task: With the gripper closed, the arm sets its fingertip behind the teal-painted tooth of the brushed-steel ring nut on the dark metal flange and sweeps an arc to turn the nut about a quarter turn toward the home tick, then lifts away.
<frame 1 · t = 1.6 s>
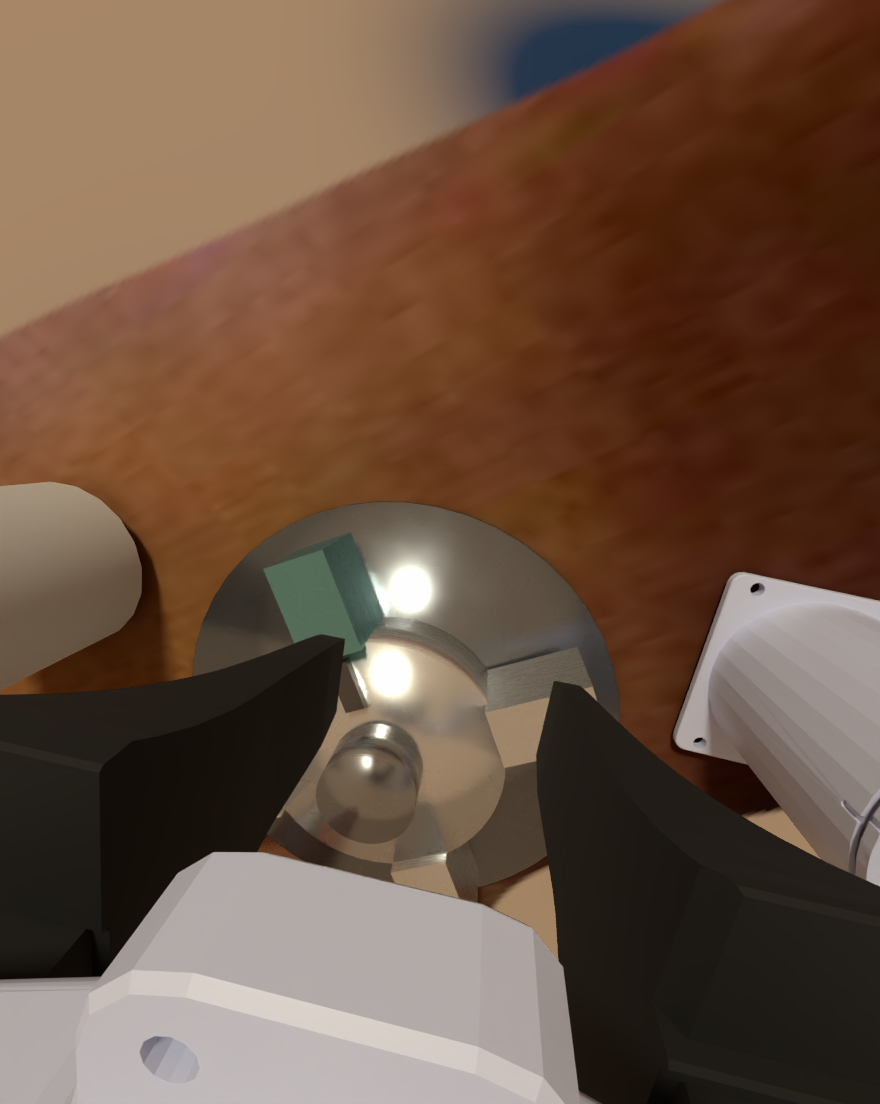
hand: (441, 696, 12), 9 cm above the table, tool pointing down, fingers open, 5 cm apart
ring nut: (386, 741, 20), point 2 cm above the table, hinge at 0.0°
can: (85, 559, 23), on the table
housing: (396, 714, 23), on the table
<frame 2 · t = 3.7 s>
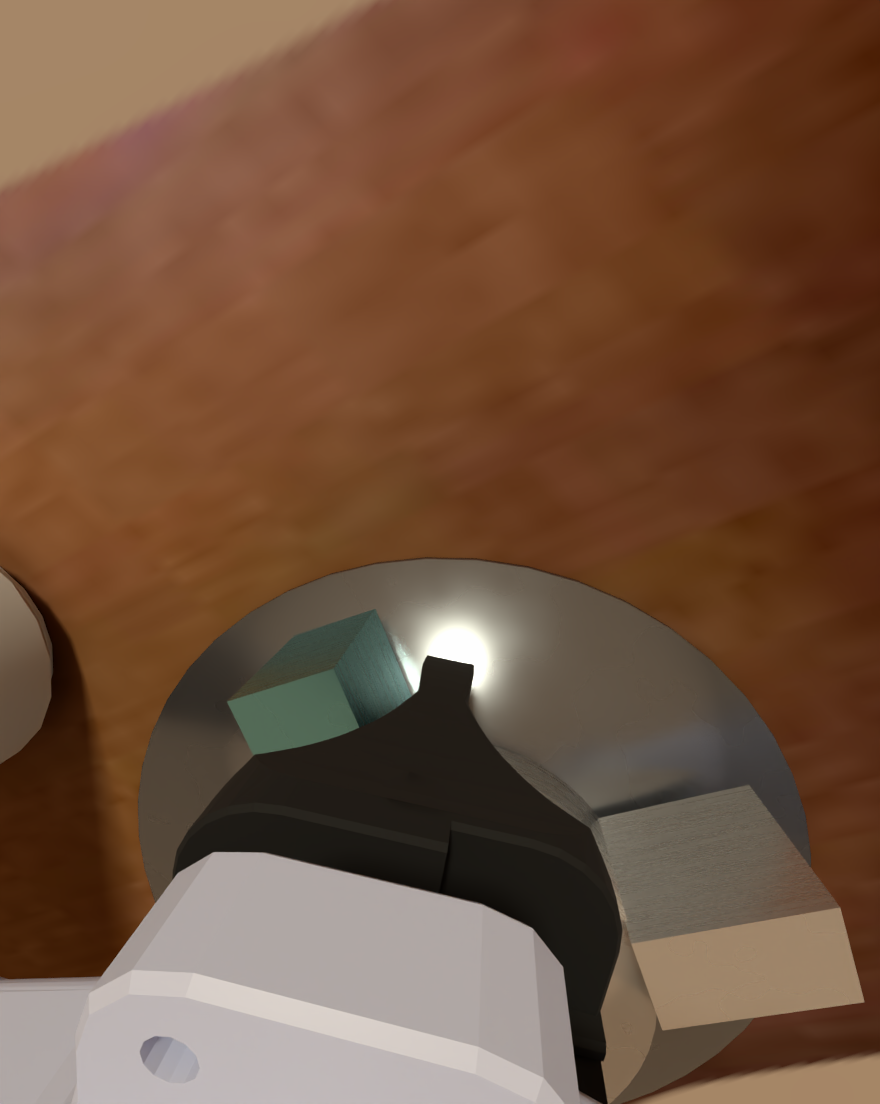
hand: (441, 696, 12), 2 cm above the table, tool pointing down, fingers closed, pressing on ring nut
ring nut: (443, 945, 13), point 2 cm above the table, hinge at 1.7°, touching gripper
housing: (450, 875, 15), on the table
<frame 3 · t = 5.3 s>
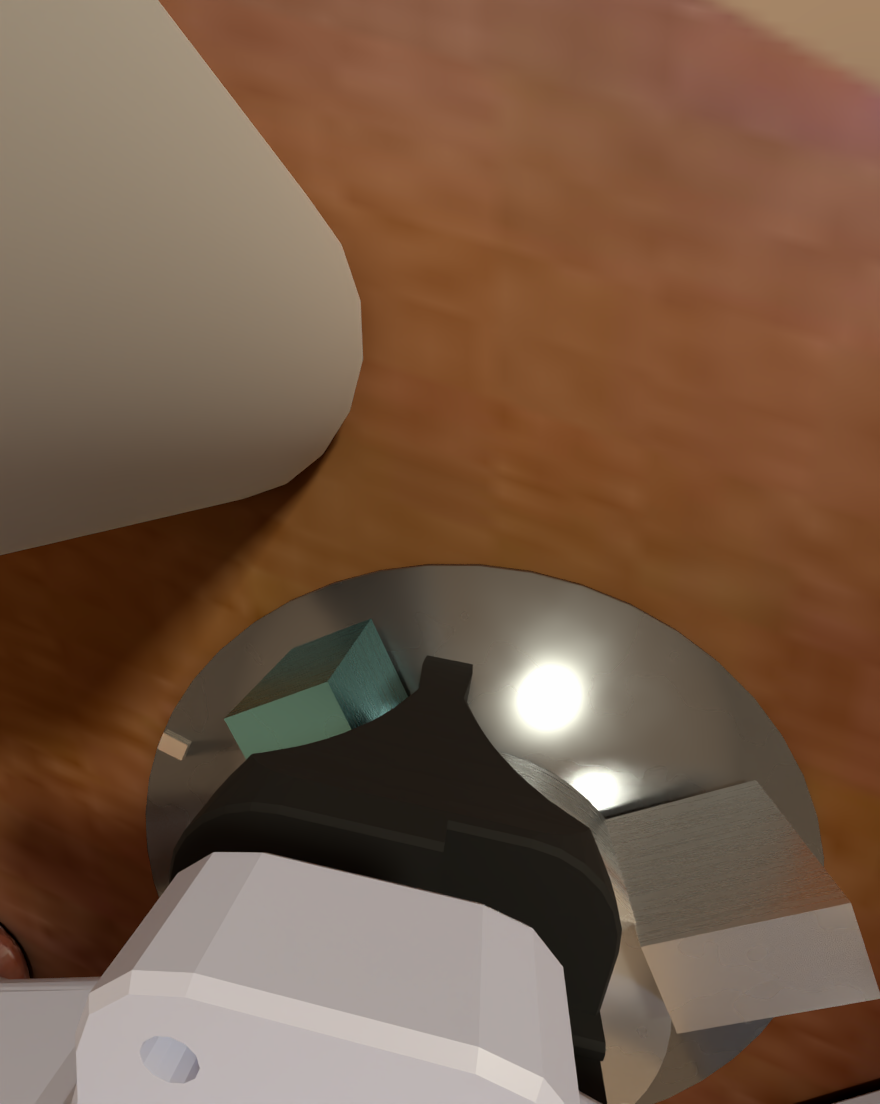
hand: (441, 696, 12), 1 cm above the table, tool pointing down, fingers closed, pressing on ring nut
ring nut: (454, 954, 13), point 2 cm above the table, hinge at 48.2°, touching gripper
can: (228, 345, 12), on the table
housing: (459, 882, 15), on the table
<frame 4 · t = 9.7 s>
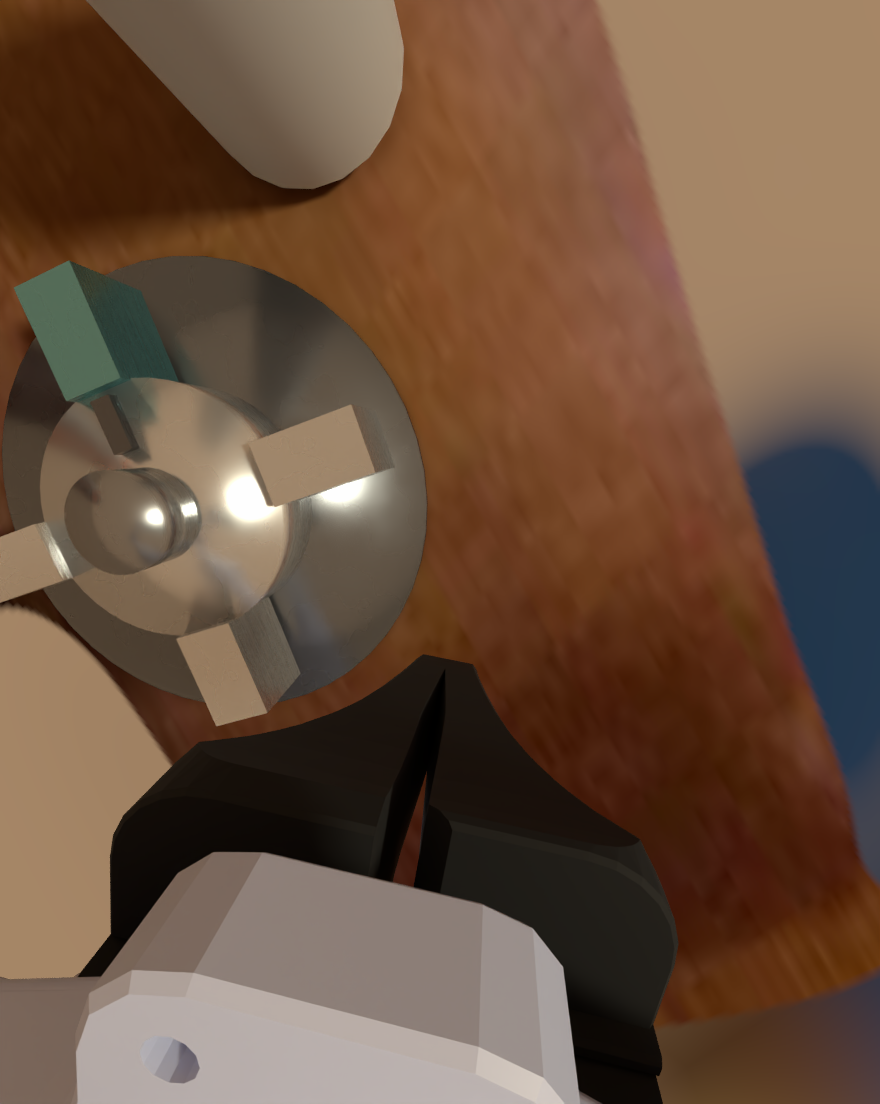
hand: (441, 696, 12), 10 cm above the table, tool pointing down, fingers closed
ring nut: (178, 509, 20), point 2 cm above the table, hinge at 84.8°
can: (310, 89, 18), on the table
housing: (208, 503, 22), on the table
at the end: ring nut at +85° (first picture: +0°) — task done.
